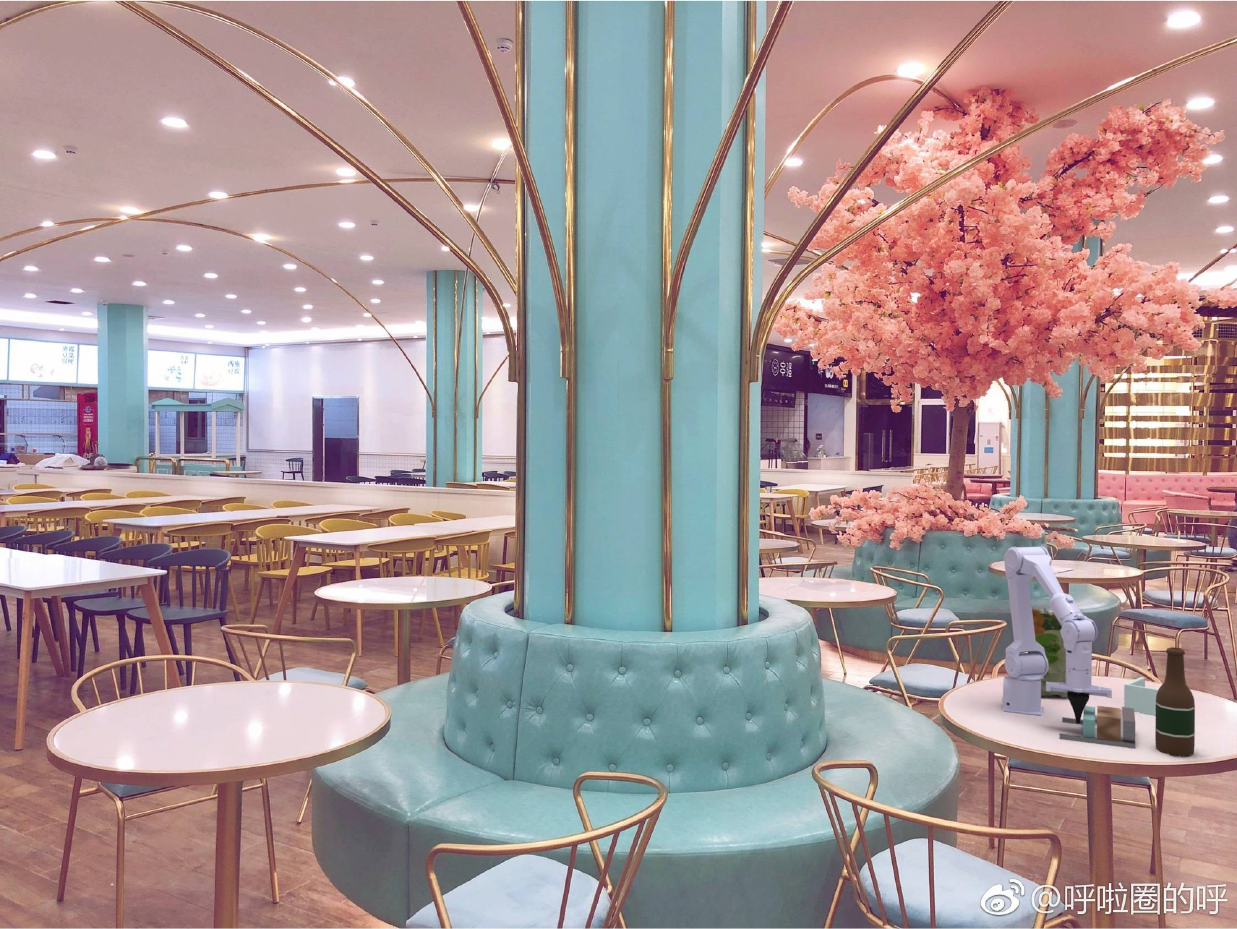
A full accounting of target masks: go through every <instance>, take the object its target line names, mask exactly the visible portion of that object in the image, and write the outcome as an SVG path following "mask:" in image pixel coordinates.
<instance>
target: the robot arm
mask: <svg viewBox="0 0 1237 929" xmlns="http://www.w3.org/2000/svg"><path fill="white" fill-rule="evenodd" d="M1003 560H1004V561H1003V563H1004V570H1005V577H1006V579H1007V589H1008V597H1009V608H1010V616H1011V624H1012V635H1013V642H1011V644H1009V645H1008V646H1007V647H1006V648H1005V659H1004V668H1005V670H1006V672H1007V675H1004V676H1003V681H1002V682H1003V684H1002V691H1003V692H1002V697H1001V698H1002V699H1001V701H1002V711H1003V712H1005V713H1006V712H1007V713H1016V714H1023V715H1031V716H1032V715H1033V716H1040V717H1041V716H1042V715H1043V712H1044V707H1043V706H1042V696H1041V679H1043V678H1044V675H1045V674H1046V673H1047V671H1048V667H1049V664H1048V660H1047V658H1046V655H1045V651H1044V647H1042V646H1041V645H1040V644H1039V643H1037V642H1036V641H1035V632H1034V623H1033V614H1032V608H1033V607H1032V600H1031V587H1030V582H1031V581H1032V579H1033V578H1035V579H1036V580H1037V582H1038V583H1039V585H1041V587H1042V588H1043V590H1044V592H1046V594H1047V595H1048V597H1049V598H1050V601H1049V607H1050V609H1051V610H1052V611H1051V612H1054V614H1055V616H1056V617H1057V619H1058V621H1059V623H1060V624H1061V626H1062V629H1060V632H1061V636H1062V639H1063V641H1064V648H1065V649H1066V683H1062V682H1046V691H1058V692H1067V699H1068V701H1069V704H1070V706H1071V707H1072V710H1073V713H1074V719H1076V724H1075V725H1080V720H1081V719H1082V717H1083V713H1084V708H1085V706H1087V703H1088V702H1089V700H1090V696H1096V697H1105V698H1109V699H1112V698H1113V697H1112V696H1113V695H1112V694H1113V693H1112V691H1113V689H1112V688H1110V687H1105V686H1104V687H1103V686H1098V685H1093V684H1092V677H1093V676H1092V670H1093V669H1092V667H1093V666H1092V665H1093V664H1092V662H1093V658H1092V657H1093V656H1092V653H1093V650H1092V649H1093V648H1092V646H1093V642H1095V641H1096V640H1097V639H1098V632H1099V631H1098V628H1097V625H1096V623H1095V620H1092V618H1088V617H1087V615H1084V614H1083V612H1082V611H1081V610H1080V608H1079V606H1078V605H1077V603H1076V601H1075V599H1074V598H1073V596H1072V595H1070V593H1069V594H1068V593H1064V591H1063V588H1062V586H1061V584H1060V582H1059V580H1058V579H1057V577H1056V574H1055V572H1054V570H1053V568H1052V560H1053V558H1052V557H1051V555H1050V553H1049V551H1048V549H1047V548H1046V547H1044V546H1041V545H1039V546H1025V547H1023V546H1020V547H1016V546H1012V547H1009V548H1008V550H1006V551H1005V554H1004V555H1003ZM1028 651H1030V652H1031V653H1028Z"/></svg>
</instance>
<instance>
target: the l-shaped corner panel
mask: <svg viewBox="0 0 1237 929" xmlns="http://www.w3.org/2000/svg"><path fill="white" fill-rule="evenodd" d="M1123 690H1124V692H1123V693H1124V694H1123V695H1124V696H1123V697H1124V698H1123V701H1124V702H1123V707H1127V708H1134V713H1137V712H1139V713H1138V714H1144V715H1148V716H1153V717H1156V694H1157V692H1158V690H1159V688H1158V689H1157V688H1152V687H1147V686H1146V677H1142V676H1141V677H1138V678H1135V679H1133V680H1131V681H1129V682H1126V683H1124V685H1123Z"/></svg>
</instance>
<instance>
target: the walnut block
mask: <svg viewBox="0 0 1237 929" xmlns="http://www.w3.org/2000/svg"><path fill="white" fill-rule="evenodd" d="M1096 706H1097V708H1096V709H1097V711H1096V712H1097V714H1096V715H1097V738H1099V739H1107V740H1115V741H1121V714H1120V709H1121V708H1120V707H1112V706H1105V705H1104V706H1103V705H1096Z"/></svg>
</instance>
